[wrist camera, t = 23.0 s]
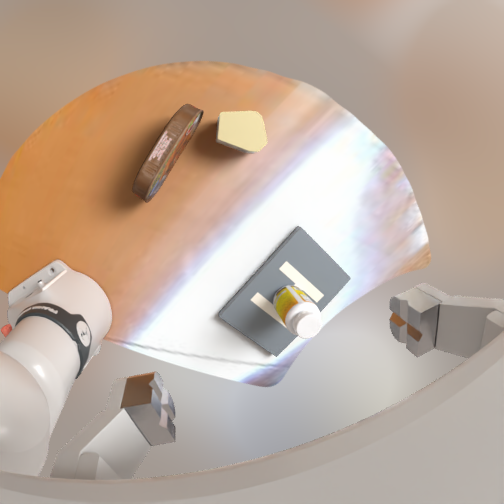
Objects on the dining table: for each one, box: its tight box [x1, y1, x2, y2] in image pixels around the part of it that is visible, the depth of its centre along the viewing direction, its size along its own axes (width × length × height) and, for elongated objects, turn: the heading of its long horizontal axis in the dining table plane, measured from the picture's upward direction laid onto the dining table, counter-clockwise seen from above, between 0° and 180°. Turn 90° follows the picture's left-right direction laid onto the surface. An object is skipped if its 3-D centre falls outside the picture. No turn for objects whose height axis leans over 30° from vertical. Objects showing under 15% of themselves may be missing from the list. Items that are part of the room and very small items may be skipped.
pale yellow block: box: [216, 111, 267, 153], centre depth 42 cm, size 10×9×6 cm
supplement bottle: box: [273, 285, 322, 339], centre depth 46 cm, size 6×6×10 cm
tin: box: [133, 104, 203, 202], centre depth 39 cm, size 15×3×8 cm, turn 147°
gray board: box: [219, 226, 351, 357], centre depth 52 cm, size 20×14×2 cm
